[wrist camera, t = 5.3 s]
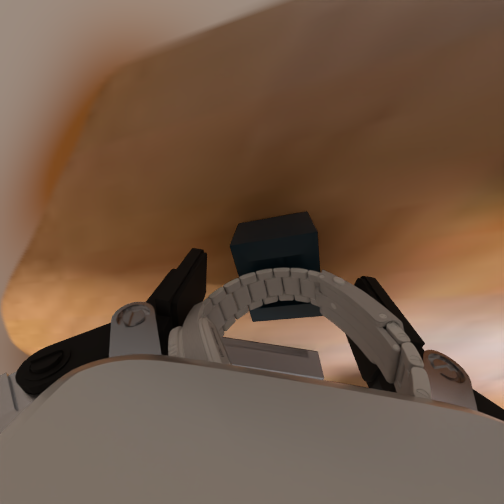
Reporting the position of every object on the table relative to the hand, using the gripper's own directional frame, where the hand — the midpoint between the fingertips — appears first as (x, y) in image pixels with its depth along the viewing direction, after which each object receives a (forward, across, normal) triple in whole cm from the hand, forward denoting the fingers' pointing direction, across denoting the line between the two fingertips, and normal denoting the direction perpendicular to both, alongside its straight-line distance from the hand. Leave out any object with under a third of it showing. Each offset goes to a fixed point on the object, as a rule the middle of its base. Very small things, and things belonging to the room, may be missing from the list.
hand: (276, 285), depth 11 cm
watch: (+3, 0, 0) cm, 3 cm away
